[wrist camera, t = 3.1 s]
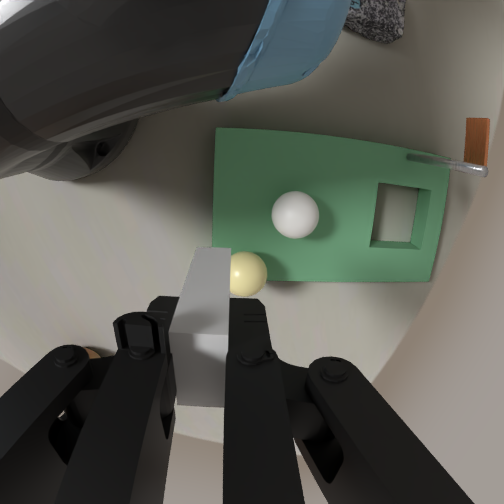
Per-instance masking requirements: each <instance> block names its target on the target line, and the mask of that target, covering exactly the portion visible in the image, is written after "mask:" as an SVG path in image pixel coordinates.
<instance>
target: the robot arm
mask: <svg viewBox="0 0 504 504" xmlns="http://www.w3.org/2000/svg"><path fill="white" fill-rule="evenodd" d="M350 4H351V0H0V179H2V178H5V177H9V176H13V175H17V174H21V173H24V172H29V173H32V174H35V175H37V176H40V177H43V178H46V179H49V180H55V181H69V180H75V179H78V178H82V177H85V176H88V175H91V174H93V173H96V172H97V171H99V170H101V169H103V168H104V167H105V166H107V165H108V164H109V163H111V162H112V161H113V160H114V159H115V158H116V157H117V156H118V155H119V154H120V152H121V151H122V150H123V149H124V147H125V146H126V144H127V143H128V141H129V139H130V138H131V136H132V134H133V132H134V129H135V127H136V124H137V121H138V118H140V117H143V116H147V115H151V114H154V113H158V112H162V111H166V110H170V109H174V108H178V107H182V106H187V105H191V104H196V103H200V102H205V101H210V100H216V101H217V102H222V101H228V100H230V99H232V98H234V97H235V96H236V95H237V94H240V93H244V92H249V91H254V90H259V89H265V88H270V87H276V86H282V85H288V84H292V83H295V82H297V81H300V80H302V79H304V78H305V77H307V76H309V75H310V74H311V73H312V72H313V71H314V70H315V69H316V68H317V67H318V66H319V64H320V63H321V62H322V61H324V60H325V59H326V58H327V56H328V55H329V53H330V52H331V50H332V49H333V47H334V45H335V44H336V42H337V40H338V37H339V35H340V33H341V31H342V28H343V26H344V23H345V20H346V18H347V15H348V11H349V8H350ZM230 269H231V248H216V247H197V248H196V251H195V254H194V257H193V260H192V262H191V265H190V268H189V271H188V274H187V277H186V280H185V283H184V286H183V289H182V292H181V295H180V297H171V296H158V297H157V298H156V299H154V300H153V301H152V302H151V303H150V305H149V307H148V309H147V312H132V313H128V314H124V315H122V316H120V317H118V318H117V319H116V320H115V321H114V322H113V327H114V332H115V337H116V342H117V346H118V350H117V352H116V354H115V355H114V356H110V357H103V358H91V359H90V357H89V354H88V352H87V351H86V349H84V348H82V347H81V346H77V345H63V346H60V347H57V348H55V349H53V350H52V351H50V352H49V353H48V354H47V355H46V356H44V357H43V358H42V359H41V360H40V361H39V362H38V363H37V364H36V365H34V366H33V367H32V368H31V369H30V370H29V371H28V372H27V373H26V374H25V375H24V376H23V377H21V378H20V379H19V380H18V381H17V382H16V383H15V384H14V385H13V386H12V387H11V388H10V389H9V390H8V391H7V392H6V393H4V394H3V396H1V398H0V504H163V498H164V491H165V484H166V476H167V470H168V463H169V456H170V450H171V443H172V437H173V431H174V425H175V419H176V418H175V410H174V403H175V398H177V405H186V406H202V407H224V446H223V449H224V450H223V504H305V501H304V496H303V490H302V485H301V479H300V474H299V468H298V463H297V457H296V451H295V446H294V440H295V443H296V445H297V446H298V448H299V450H300V452H301V454H302V456H303V458H304V460H305V462H306V463H307V465H308V467H309V469H310V471H311V473H312V475H313V476H314V478H315V480H316V482H317V484H318V486H319V487H320V489H321V491H322V493H323V495H324V496H325V498H326V500H327V502H328V504H474V503H473V502H472V500H471V499H470V498H469V497H468V496H467V495H466V493H465V492H464V491H463V490H462V489H461V488H460V486H459V485H458V484H457V483H456V482H455V481H454V480H453V478H452V477H451V476H450V475H449V474H448V473H447V471H446V470H445V469H444V468H443V467H442V466H441V464H440V463H439V462H438V461H437V460H436V459H435V457H434V456H433V455H432V454H431V453H430V452H429V450H428V449H427V448H426V447H425V446H424V445H423V443H422V442H421V441H420V440H419V439H418V438H417V436H416V435H415V434H414V433H413V432H412V431H411V430H410V428H409V427H408V426H407V425H406V424H405V423H404V422H403V420H402V419H401V418H400V417H399V416H398V415H397V413H396V412H395V411H394V410H393V409H392V408H391V406H390V405H389V404H388V403H387V402H386V401H385V400H384V398H383V397H382V396H381V395H380V394H379V393H378V391H377V390H376V389H375V388H374V387H373V386H372V384H371V383H370V382H369V381H368V380H367V379H366V378H365V376H364V375H363V374H362V373H361V372H360V371H359V369H358V368H357V367H356V366H355V365H353V364H352V363H351V362H349V361H347V360H345V359H342V358H338V357H322V358H319V359H316V360H314V361H313V362H312V363H311V364H310V365H309V368H304V367H299V366H294V365H291V364H288V363H286V362H283V361H282V360H280V359H279V358H278V356H277V354H276V352H275V351H274V350H273V349H272V346H271V340H270V334H269V328H268V323H267V317H266V311H265V306H264V305H263V304H262V303H261V302H260V301H259V300H258V299H251V298H230ZM63 410H64V412H65V413H64V414H63V415H62V416H61V417H59V418H58V416H59V415H60V414H61V413H62V412H63ZM293 438H294V440H293Z"/></svg>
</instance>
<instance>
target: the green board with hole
mask: <svg viewBox="0 0 504 504" xmlns="http://www.w3.org/2000/svg"><path fill="white" fill-rule="evenodd" d="M408 153H413V154H421V155H427V156H434V157H440V158H446V159H451V158H447V157H443V156H439V155H435V154H431V153H426V152H422V151H417V150H412V149H407V148H403V147H397V146H392V145H387V144H381V143H375V142H369V141H363V140H357V139H350V138H343V137H335V136H327V135H319V134H310V133H300V132H289V131H277V130H263V129H245V128H216V134H215V157H214V186H213V226H212V247H216V248H231V255H233V254H235V253H237V252H242V251H248V252H252V253H254V254H256V255H258V256H259V257H260V258H261V259H262V260H263V261H264V263H265V265H266V268H267V280H266V281H320V282H429V279H430V275H431V271H432V267H433V263H434V259H435V254H436V250H437V245H438V241H439V236H440V231H441V226H442V220H443V215H444V209H445V203H446V196H447V189H448V182H449V174H450V169H447V168H443V167H438V166H433V165H428V164H423V163H418V162H412V161H408V160H407V158H406V156H407V154H408ZM378 182H379V183H387V184H394V185H401V186H408V187H415V188H419V192H418V199H417V206H416V212H415V218H414V224H413V230H412V235H411V240H410V242H394V241H376V240H370V239H371V233H372V227H373V220H374V213H375V206H376V198H377V191H378ZM291 191H300V192H303V193H306V194H307V195H309V196H310V197H311V198H312V199H313V200H314V201H315V202H316V204H317V206H318V210H319V221H318V224H317V226H316V228H315V229H314V230H313V232H312V233H310V234H309V235H307V236H306V237H303V238H298V239H292V238H288V237H286V236H284V235H282V234H281V233H279V232H278V230H277V229H276V228H275V226H274V224H273V221H272V208H273V205H274V203H275V202H276V200H277V199H278V198H279V197H280V196H281V195H283V194H285V193H287V192H291Z"/></svg>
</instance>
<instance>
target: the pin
mask: <svg viewBox="0 0 504 504" xmlns="http://www.w3.org/2000/svg"><path fill="white" fill-rule="evenodd" d="M489 125H490V119H488V118H466V138H465V151H464V162H463V161H458V160H452V159H446V158H440V157H434V156H427V155H421V154H413V153H408V154H407V156H406V158H407V160H408V161H412V162H418V163H423V164H428V165H433V166H438V167H443V168H447V169H452V170H457V171H461V172H465V173H469V174H473V175H478V176H482V177H486V176H487V175H488V168H487V157H488V144H489Z"/></svg>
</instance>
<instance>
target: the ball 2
mask: <svg viewBox="0 0 504 504" xmlns="http://www.w3.org/2000/svg"><path fill="white" fill-rule="evenodd" d="M272 221H273V224H274V226H275V228H276V229H277V230H278V232H279V233H281V234H282V235H284V236H286V237H288V238H292V239H298V238H303V237H306V236H307V235H309V234H310V233H312V232H313V230H314V229H315V228H316V226H317V224H318V221H319V210H318V206H317V204H316V202H315V201H314V200H313V199H312V198H311V197H310V196H309V195H307V194H306V193H303V192H300V191H291V192H287V193H285V194H283V195H281V196H280V197H279V198H278V199H277V200H276V202H275V203H274V205H273V208H272Z"/></svg>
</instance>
